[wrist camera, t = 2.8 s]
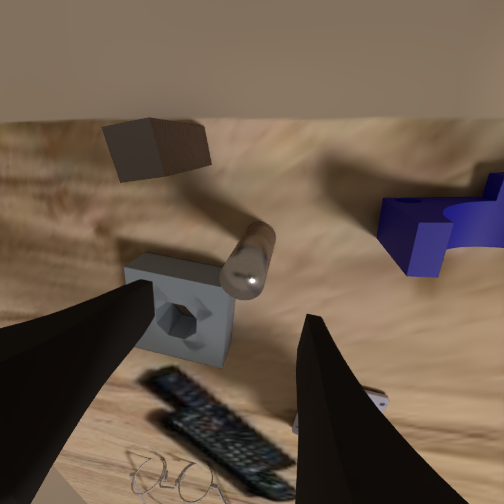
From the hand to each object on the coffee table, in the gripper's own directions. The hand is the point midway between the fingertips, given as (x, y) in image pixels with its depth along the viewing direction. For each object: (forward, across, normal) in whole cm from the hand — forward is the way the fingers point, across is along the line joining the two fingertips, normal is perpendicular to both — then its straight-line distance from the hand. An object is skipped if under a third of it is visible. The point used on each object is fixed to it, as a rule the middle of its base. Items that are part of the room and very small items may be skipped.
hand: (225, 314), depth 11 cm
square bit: (+10, +6, -6) cm, 13 cm away
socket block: (+10, +6, +8) cm, 14 cm away
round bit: (+10, 0, 0) cm, 10 cm away
